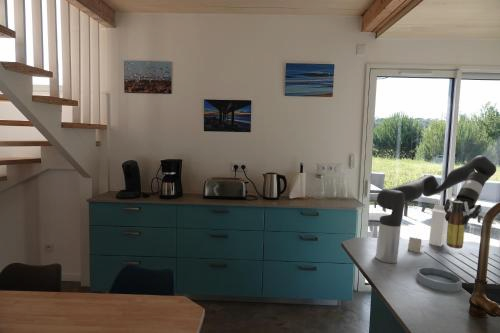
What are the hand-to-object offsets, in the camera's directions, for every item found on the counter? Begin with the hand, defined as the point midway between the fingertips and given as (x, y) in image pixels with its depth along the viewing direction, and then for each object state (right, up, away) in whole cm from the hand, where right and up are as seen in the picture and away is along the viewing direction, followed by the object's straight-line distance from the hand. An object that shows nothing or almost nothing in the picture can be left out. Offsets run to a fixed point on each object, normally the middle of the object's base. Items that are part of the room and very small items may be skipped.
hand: (454, 221), depth 143 cm
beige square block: (-3, -21, +30) cm, 36 cm away
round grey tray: (-12, -23, -8) cm, 27 cm away
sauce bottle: (+1, -11, +2) cm, 12 cm away
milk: (+16, -20, +43) cm, 50 cm away
